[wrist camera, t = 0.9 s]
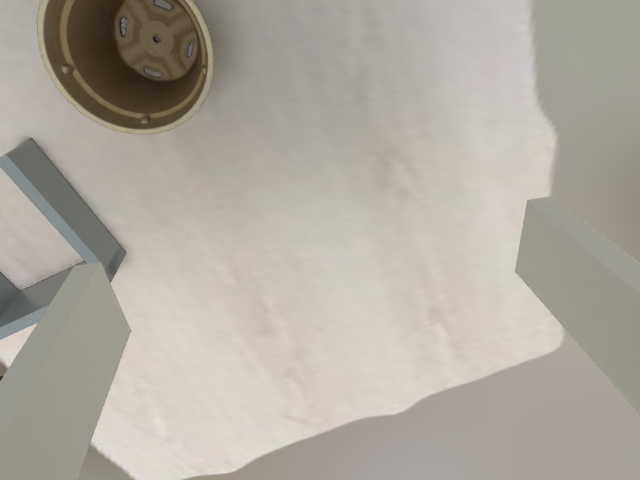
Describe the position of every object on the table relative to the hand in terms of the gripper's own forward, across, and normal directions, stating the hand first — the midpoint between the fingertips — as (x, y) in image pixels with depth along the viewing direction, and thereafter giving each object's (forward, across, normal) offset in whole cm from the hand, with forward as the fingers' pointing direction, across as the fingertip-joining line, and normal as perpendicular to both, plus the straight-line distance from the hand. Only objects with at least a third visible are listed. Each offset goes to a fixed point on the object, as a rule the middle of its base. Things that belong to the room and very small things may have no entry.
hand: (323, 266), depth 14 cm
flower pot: (+25, -9, +5) cm, 27 cm away
